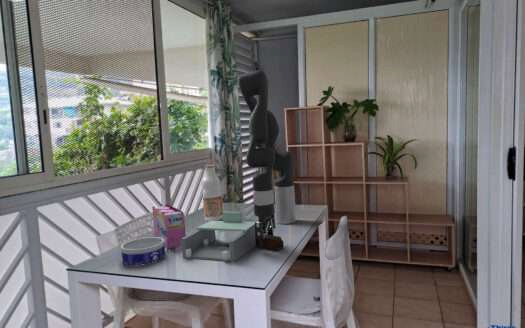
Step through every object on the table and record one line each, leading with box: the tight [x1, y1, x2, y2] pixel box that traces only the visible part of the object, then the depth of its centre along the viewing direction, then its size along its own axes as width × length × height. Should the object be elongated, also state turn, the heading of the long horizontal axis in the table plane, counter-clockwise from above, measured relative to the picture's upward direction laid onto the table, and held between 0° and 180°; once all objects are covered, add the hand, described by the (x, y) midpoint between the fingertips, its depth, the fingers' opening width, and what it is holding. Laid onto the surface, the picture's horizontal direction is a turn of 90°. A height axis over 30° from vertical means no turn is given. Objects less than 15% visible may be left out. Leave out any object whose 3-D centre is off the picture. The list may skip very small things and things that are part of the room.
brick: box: [255, 233, 285, 252], centre depth 138 cm, size 11×4×5 cm, turn 51°
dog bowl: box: [120, 236, 166, 266], centre depth 137 cm, size 15×15×6 cm
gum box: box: [151, 203, 187, 249], centre depth 158 cm, size 24×8×14 cm, turn 30°
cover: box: [196, 211, 256, 232], centre depth 145 cm, size 10×21×5 cm, turn 68°
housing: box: [181, 226, 256, 262], centre depth 140 cm, size 24×21×7 cm
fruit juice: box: [201, 164, 224, 222], centre depth 188 cm, size 9×9×28 cm
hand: (266, 245), depth 137 cm, fingers open, 8 cm apart
